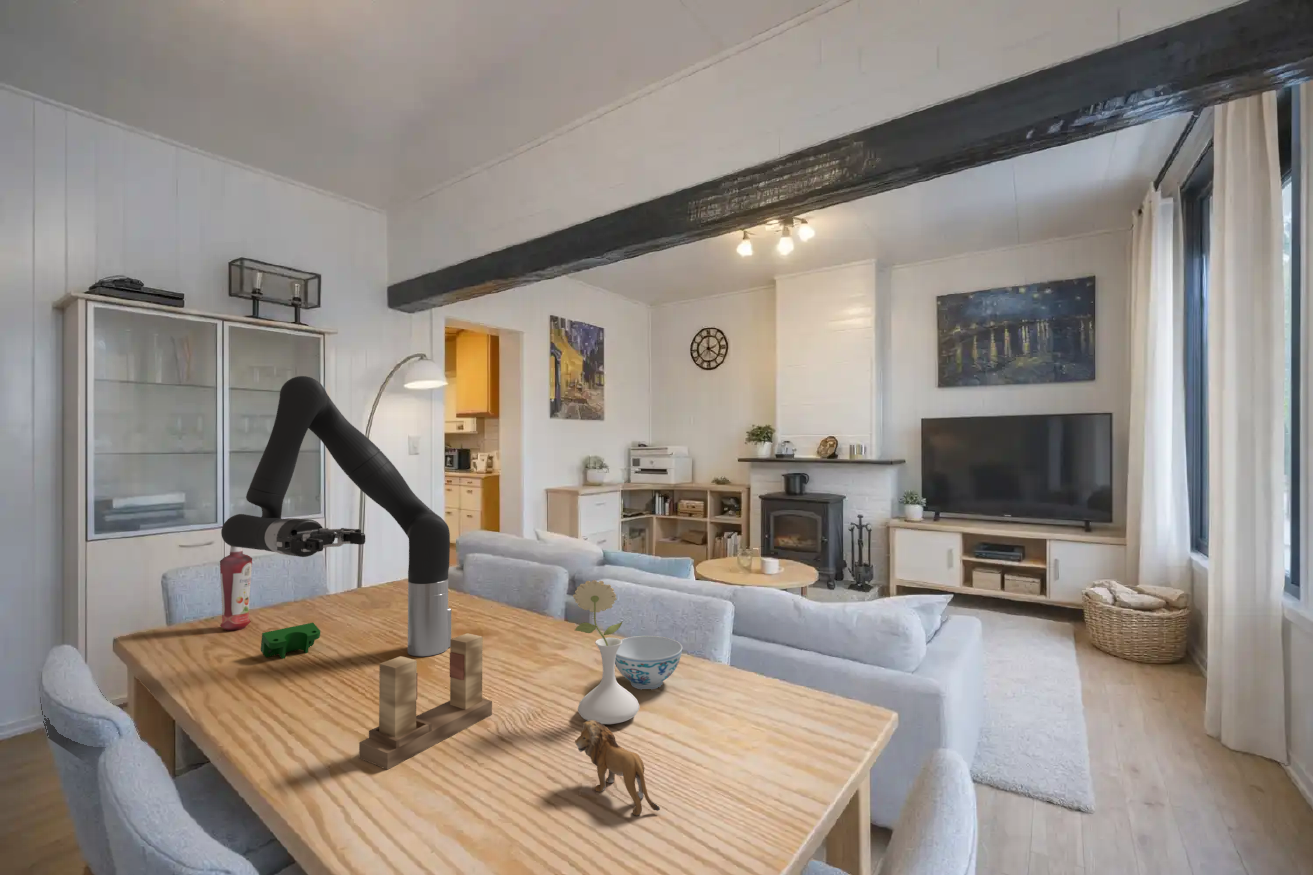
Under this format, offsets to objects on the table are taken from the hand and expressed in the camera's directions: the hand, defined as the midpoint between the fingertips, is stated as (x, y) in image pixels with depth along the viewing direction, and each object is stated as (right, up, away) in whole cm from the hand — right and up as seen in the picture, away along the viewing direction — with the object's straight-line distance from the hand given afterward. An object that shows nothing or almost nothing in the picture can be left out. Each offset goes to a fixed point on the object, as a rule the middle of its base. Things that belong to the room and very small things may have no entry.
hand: (343, 542), depth 115 cm
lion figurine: (+54, -31, -29) cm, 69 cm away
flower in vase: (+51, -32, -4) cm, 60 cm away
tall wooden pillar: (+18, -29, -17) cm, 38 cm away
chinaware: (+58, -32, +11) cm, 67 cm away
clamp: (-28, -32, +30) cm, 52 cm away
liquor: (-56, -33, +50) cm, 81 cm away
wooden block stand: (+21, -31, -11) cm, 40 cm away
